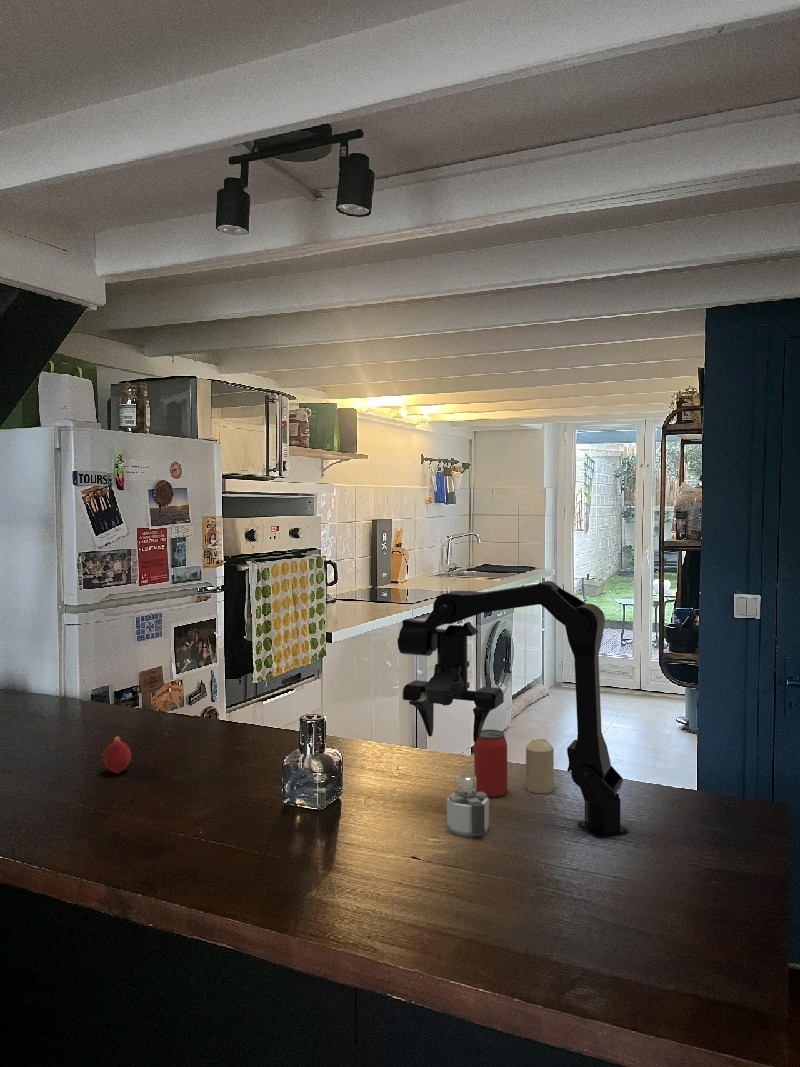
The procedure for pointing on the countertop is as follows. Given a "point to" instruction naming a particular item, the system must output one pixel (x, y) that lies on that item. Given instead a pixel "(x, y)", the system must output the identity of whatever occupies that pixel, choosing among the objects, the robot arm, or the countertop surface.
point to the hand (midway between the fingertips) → (452, 738)
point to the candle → (539, 766)
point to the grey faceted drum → (468, 814)
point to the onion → (117, 756)
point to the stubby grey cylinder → (467, 785)
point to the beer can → (491, 763)
